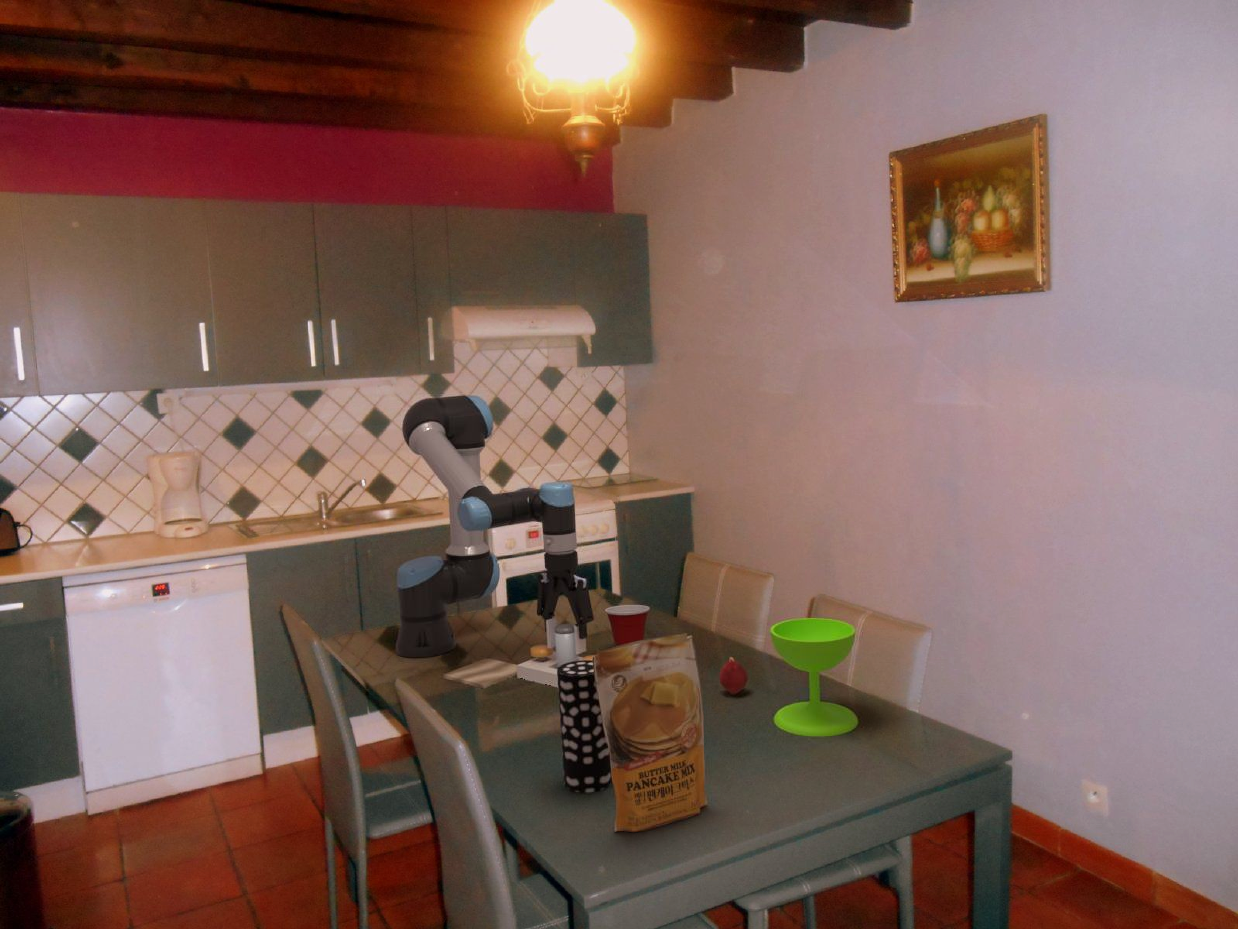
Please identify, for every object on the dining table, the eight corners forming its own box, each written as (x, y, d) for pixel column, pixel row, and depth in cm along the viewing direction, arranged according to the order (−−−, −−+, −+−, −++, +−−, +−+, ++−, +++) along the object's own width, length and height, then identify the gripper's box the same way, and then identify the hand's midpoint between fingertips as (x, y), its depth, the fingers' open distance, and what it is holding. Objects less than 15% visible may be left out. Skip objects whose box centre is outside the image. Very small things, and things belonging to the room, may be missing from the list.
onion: (751, 691, 198) (749, 654, 197) (743, 700, 193) (741, 663, 192) (725, 688, 201) (723, 652, 200) (716, 697, 196) (714, 660, 195)
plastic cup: (653, 648, 232) (650, 600, 231) (650, 661, 221) (648, 612, 220) (610, 649, 233) (607, 602, 232) (605, 663, 222) (602, 613, 221)
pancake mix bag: (593, 823, 145) (583, 647, 142) (700, 792, 153) (691, 626, 150) (612, 842, 139) (601, 659, 136) (721, 809, 147) (713, 636, 144)
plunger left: (527, 667, 218) (525, 649, 217) (542, 661, 222) (541, 643, 221) (543, 671, 214) (542, 652, 214) (558, 665, 218) (557, 646, 218)
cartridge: (553, 679, 213) (549, 628, 212) (567, 673, 217) (564, 622, 215) (569, 683, 210) (566, 631, 208) (584, 676, 214) (580, 625, 212)
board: (443, 678, 218) (442, 674, 218) (487, 661, 229) (487, 658, 229) (484, 688, 209) (483, 685, 209) (528, 670, 220) (527, 667, 220)
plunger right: (578, 679, 208) (577, 659, 207) (593, 672, 212) (592, 653, 211) (596, 683, 204) (595, 663, 204) (611, 676, 208) (610, 657, 208)
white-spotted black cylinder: (563, 773, 163) (556, 662, 161) (611, 769, 164) (604, 658, 162) (564, 795, 155) (557, 678, 153) (614, 790, 156) (607, 674, 153)
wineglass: (809, 743, 170) (805, 647, 168) (757, 716, 184) (753, 627, 182) (876, 724, 177) (873, 631, 175) (821, 699, 191) (818, 613, 189)
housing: (517, 678, 215) (516, 665, 215) (553, 663, 224) (552, 651, 224) (586, 694, 202) (585, 680, 202) (620, 678, 211) (620, 665, 211)
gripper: (516, 550, 214) (522, 647, 216) (584, 558, 201) (590, 661, 203) (538, 544, 220) (545, 638, 222) (606, 551, 206) (612, 651, 209)
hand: (566, 649), depth 212 cm, fingers open, 8 cm apart
